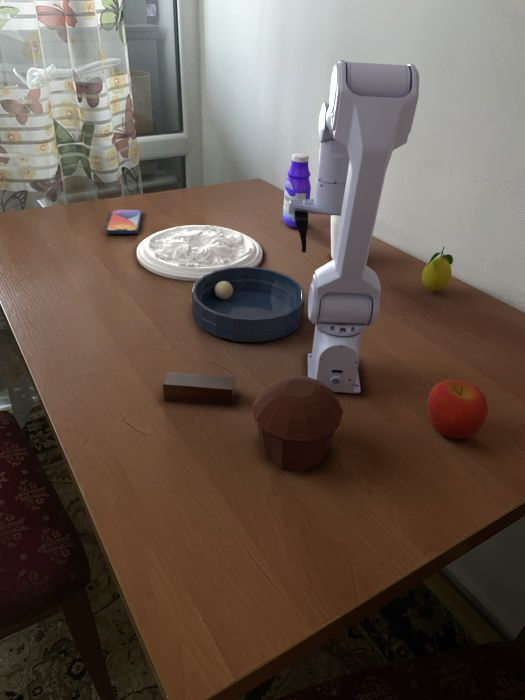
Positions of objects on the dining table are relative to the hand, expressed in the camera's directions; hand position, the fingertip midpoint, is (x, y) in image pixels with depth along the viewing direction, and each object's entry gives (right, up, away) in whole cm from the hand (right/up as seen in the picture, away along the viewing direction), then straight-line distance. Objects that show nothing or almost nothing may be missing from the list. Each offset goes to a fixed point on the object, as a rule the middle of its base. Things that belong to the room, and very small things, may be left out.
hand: (324, 251), depth 103 cm
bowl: (-14, -12, -1) cm, 19 cm away
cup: (+7, +2, +22) cm, 24 cm away
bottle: (-3, +14, +38) cm, 41 cm away
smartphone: (-46, +13, +33) cm, 58 cm away
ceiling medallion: (-26, +3, +21) cm, 33 cm away
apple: (+15, -30, -25) cm, 42 cm away
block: (-21, -25, -22) cm, 40 cm away
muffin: (-8, -32, -30) cm, 44 cm away
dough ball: (-19, -7, +1) cm, 20 cm away
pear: (+23, -7, +10) cm, 26 cm away
